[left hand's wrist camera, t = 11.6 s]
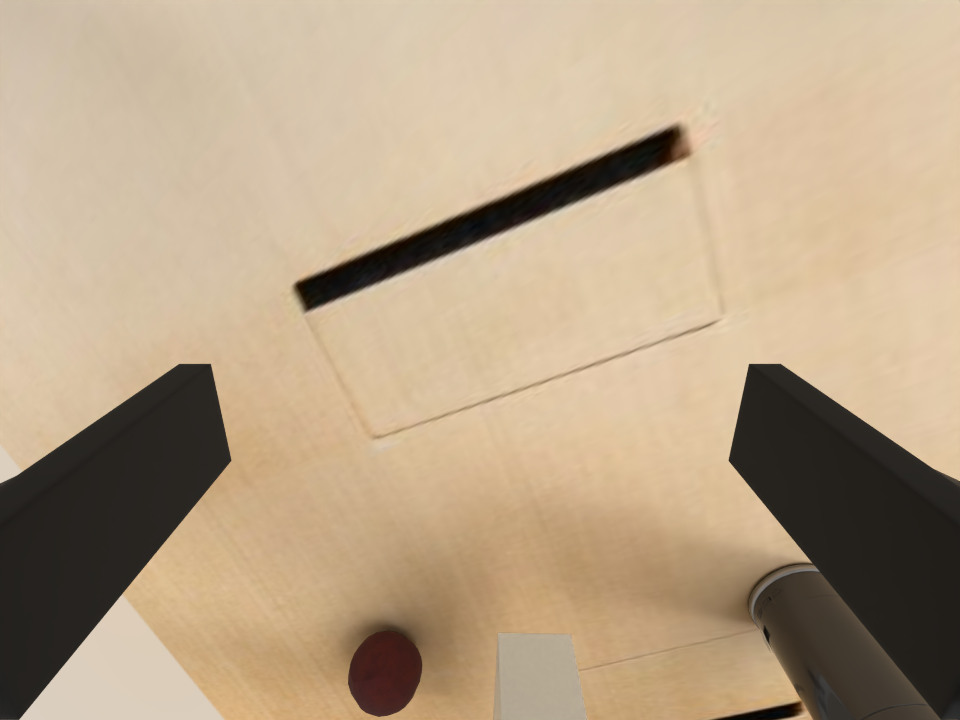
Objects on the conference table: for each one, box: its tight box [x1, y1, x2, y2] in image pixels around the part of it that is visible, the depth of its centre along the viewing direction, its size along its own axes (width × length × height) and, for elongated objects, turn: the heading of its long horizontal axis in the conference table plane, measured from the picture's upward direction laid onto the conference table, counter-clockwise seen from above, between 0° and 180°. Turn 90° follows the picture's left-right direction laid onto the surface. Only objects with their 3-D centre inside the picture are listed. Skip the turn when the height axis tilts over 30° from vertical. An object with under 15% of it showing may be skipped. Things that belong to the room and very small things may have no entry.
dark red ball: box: [348, 631, 422, 717], centre depth 52 cm, size 7×8×7 cm
